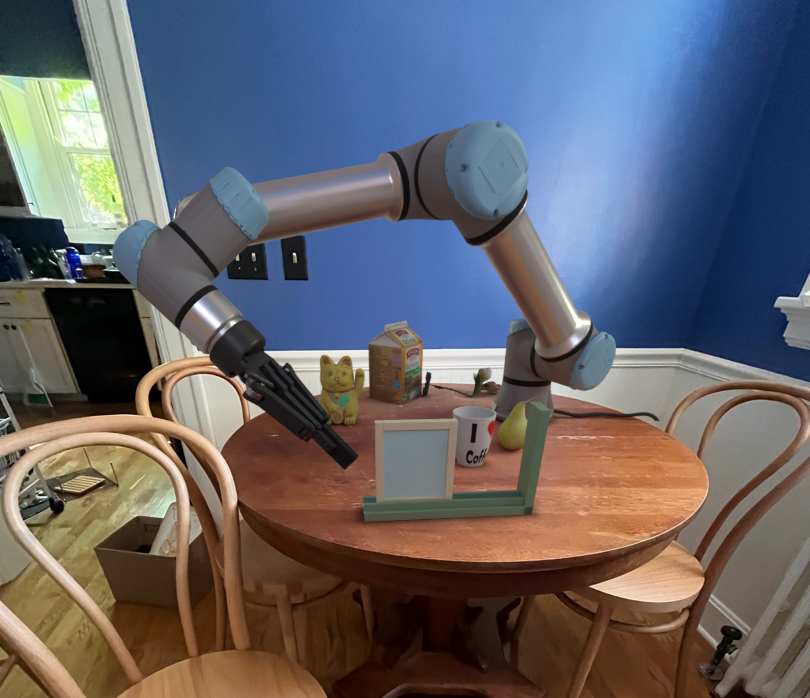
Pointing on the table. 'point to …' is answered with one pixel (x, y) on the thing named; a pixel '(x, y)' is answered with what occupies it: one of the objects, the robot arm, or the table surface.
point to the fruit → (514, 427)
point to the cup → (473, 434)
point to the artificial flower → (479, 379)
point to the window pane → (415, 459)
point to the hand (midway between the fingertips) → (351, 462)
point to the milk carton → (395, 364)
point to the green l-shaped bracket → (482, 500)
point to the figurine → (340, 389)
